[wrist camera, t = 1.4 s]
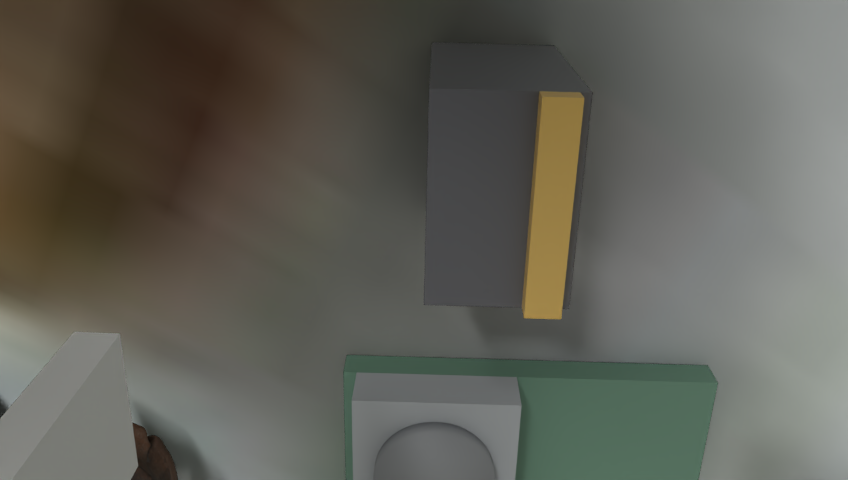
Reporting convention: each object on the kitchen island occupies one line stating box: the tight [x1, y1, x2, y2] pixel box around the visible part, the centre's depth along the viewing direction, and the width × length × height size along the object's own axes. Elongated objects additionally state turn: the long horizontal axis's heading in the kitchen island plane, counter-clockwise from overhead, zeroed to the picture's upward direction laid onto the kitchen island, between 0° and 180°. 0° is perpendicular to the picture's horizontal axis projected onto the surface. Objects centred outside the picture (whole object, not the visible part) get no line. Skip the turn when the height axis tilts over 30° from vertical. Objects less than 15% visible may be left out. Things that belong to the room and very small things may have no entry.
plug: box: [424, 42, 592, 319], centre depth 23 cm, size 6×4×8 cm, turn 179°
